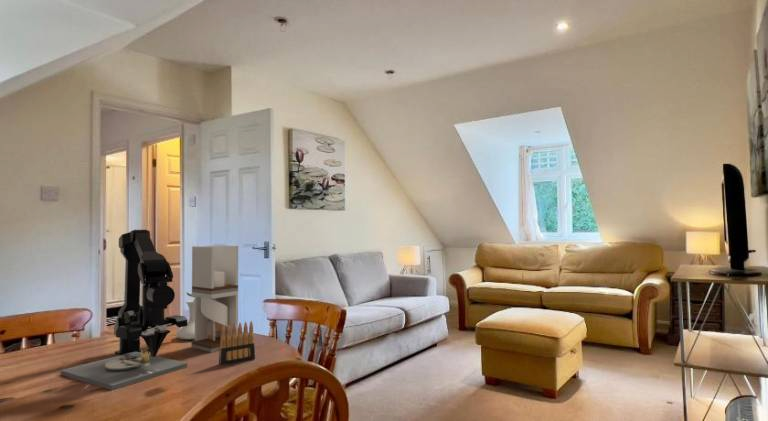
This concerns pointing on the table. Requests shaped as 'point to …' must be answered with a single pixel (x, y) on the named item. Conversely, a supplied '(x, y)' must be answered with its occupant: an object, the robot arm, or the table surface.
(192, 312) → the flower in vase
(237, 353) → the ammunition clip
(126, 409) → the table surface
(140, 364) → the disc crank with handle
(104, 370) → the stand base
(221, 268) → the display case
